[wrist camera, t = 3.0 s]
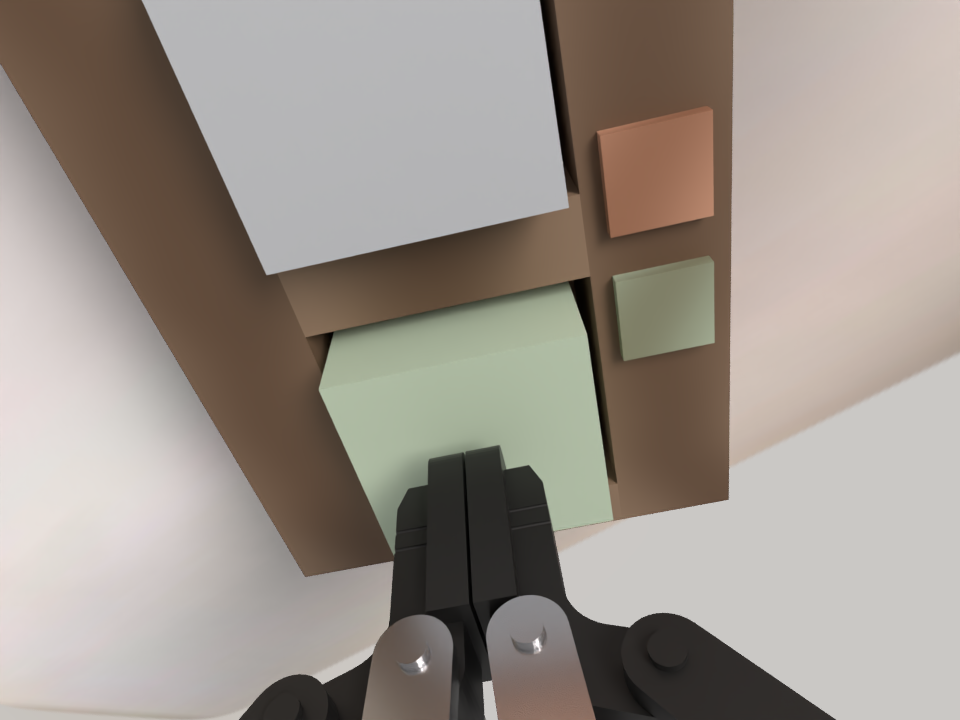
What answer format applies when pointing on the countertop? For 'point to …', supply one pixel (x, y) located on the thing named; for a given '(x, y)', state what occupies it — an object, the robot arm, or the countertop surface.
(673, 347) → the wooden compartment tray
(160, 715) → the countertop surface
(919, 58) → the countertop surface
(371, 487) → the sage key
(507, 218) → the grey key
